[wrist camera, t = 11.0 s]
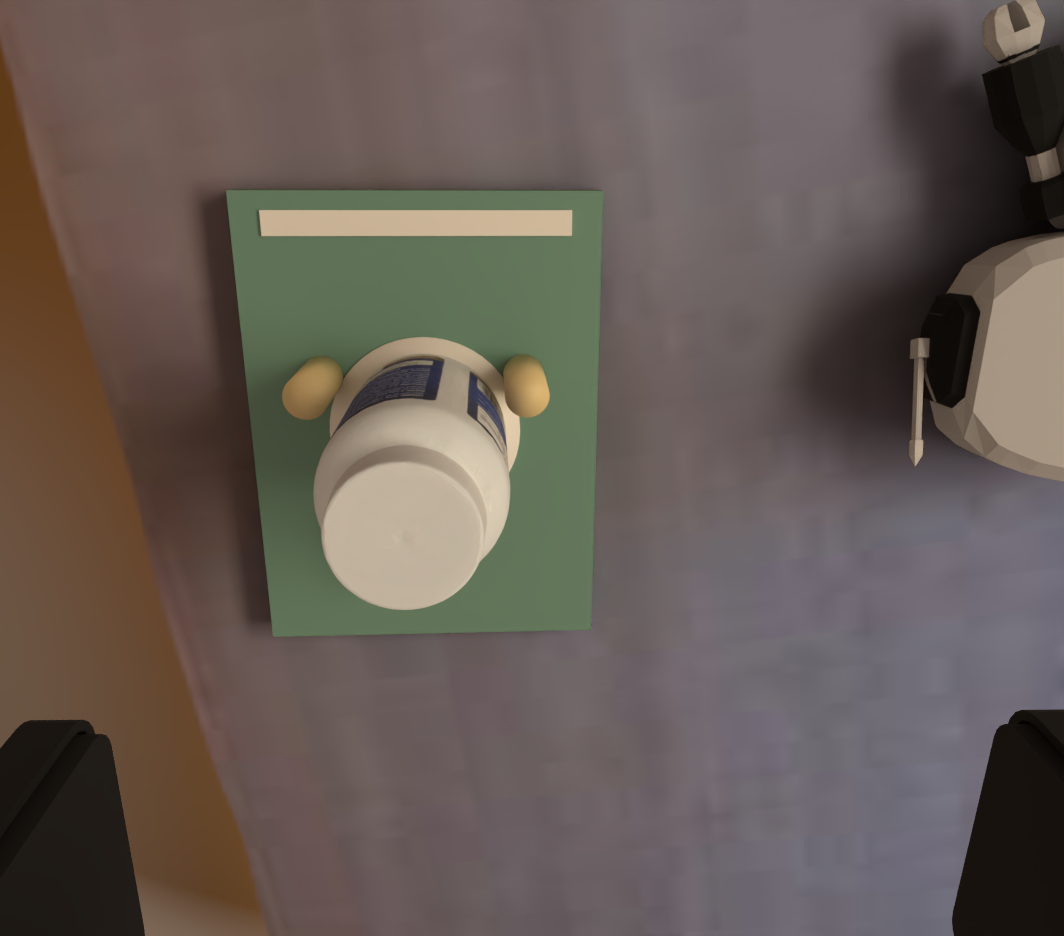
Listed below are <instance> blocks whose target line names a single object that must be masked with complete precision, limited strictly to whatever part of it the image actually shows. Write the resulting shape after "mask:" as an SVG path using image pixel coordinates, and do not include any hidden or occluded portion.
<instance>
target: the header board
mask: <svg viewBox="0 0 1064 936" xmlns="http://www.w3.org/2000/svg"><path fill="white" fill-rule="evenodd" d="M226 196H227V205H228V215H229V224H230V233H231V243H232V252H233V262H234V271H235V281H236V290H237V300H238V309H239V318H240V328H241V337H242V347H243V356H244V366H245V375H246V385H247V394H248V403H249V413H250V422H251V432H252V441H253V451H254V460H255V470H256V479H257V489H258V498H259V507H260V517H261V526H262V536H263V545H264V555H265V564H266V574H267V583H268V592H269V602H270V611H271V621H272V630H273V637H282V636H328V635H373V634H419V633H464V632H510V631H555V630H591V612H592V576H593V540H594V504H595V468H596V432H597V396H598V360H599V324H600V288H601V252H602V216H603V191H601V190H226ZM413 354H434V355H440V356H444V357H448V358H451V359H454V360H456V361H459V362H461V363H463V364H465V365H467V366H468V367H470V368H472V369H473V370H475V371H476V372H477V373H478V374H479V375H480V376H481V377H482V378H483V379H484V380H485V381H486V382H487V383H488V385H489V386H490V387H491V389H492V391H493V392H494V394H495V396H496V398H497V400H498V402H499V404H500V407H501V410H502V413H503V417H504V423H505V428H506V444H507V456H508V467H509V478H510V502H509V510H508V515H507V519H506V522H505V525H504V528H503V530H502V532H501V535H500V536H499V538H498V540H497V542H496V544H495V545H494V546H493V548H492V549H491V550H490V552H489V553H488V554H487V555H486V556H485V557H484V558H483V559H482V560H481V561H480V562H479V564H478V566H477V568H476V570H475V572H474V574H473V575H472V577H471V578H470V579H469V581H468V582H467V583H466V584H465V585H464V586H463V587H462V588H461V589H460V590H459V591H457V592H456V593H455V594H454V595H452V596H451V597H449V598H448V599H446V600H444V601H442V602H440V603H437V604H435V605H432V606H429V607H425V608H421V609H414V610H394V609H387V608H383V607H379V606H376V605H374V604H371V603H368V602H366V601H364V600H362V599H360V598H359V597H357V596H356V595H354V594H353V593H352V592H350V591H349V590H348V589H347V588H345V587H344V586H343V585H342V584H341V583H340V582H339V580H338V579H337V578H336V577H335V575H334V574H333V572H332V571H331V569H330V567H329V565H328V563H327V560H326V558H325V555H324V551H323V547H322V540H321V528H320V525H319V523H318V520H317V516H316V512H315V507H314V496H313V491H314V479H315V475H316V470H317V467H318V464H319V461H320V458H321V456H322V453H323V451H324V449H325V448H326V446H327V444H328V442H329V441H330V439H331V437H332V435H333V433H334V432H335V430H336V428H337V427H338V425H339V423H340V421H341V420H342V418H343V416H344V414H345V413H346V411H347V409H348V407H349V406H350V404H351V402H352V400H353V398H354V396H355V395H356V393H357V392H358V390H359V389H360V387H361V386H362V385H363V383H364V382H365V381H366V380H367V379H368V378H369V377H370V376H371V375H372V374H373V373H374V372H375V371H376V370H378V369H379V368H380V367H382V366H383V365H385V364H387V363H388V362H390V361H393V360H395V359H397V358H400V357H403V356H408V355H413Z"/></svg>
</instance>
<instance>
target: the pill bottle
mask: <svg viewBox="0 0 1064 936" xmlns="http://www.w3.org/2000/svg"><path fill="white" fill-rule="evenodd" d="M313 496H314V507H315V512H316V516H317V520H318V523H319V525H320V528H321V540H322V547H323V551H324V555H325V558H326V560H327V563H328V565H329V567H330V569H331V571H332V572H333V574H334V575H335V577H336V578H337V579H338V580H339V582H340V583H341V584H342V585H343V586H344V587H345V588H347V589H348V590H349V591H350V592H352V593H353V594H354V595H356V596H357V597H359V598H360V599H362V600H364V601H366V602H368V603H371V604H374V605H376V606H379V607H383V608H387V609H394V610H414V609H421V608H425V607H429V606H432V605H435V604H437V603H440V602H442V601H444V600H446V599H448V598H449V597H451V596H452V595H454V594H455V593H456V592H457V591H459V590H460V589H461V588H462V587H463V586H464V585H465V584H466V583H467V582H468V581H469V579H470V578H471V577H472V575H473V574H474V572H475V570H476V568H477V566H478V564H479V562H480V561H481V560H482V559H483V558H484V557H485V556H486V555H487V554H488V553H489V552H490V550H491V549H492V548H493V546H494V545H495V544H496V542H497V540H498V538H499V536H500V535H501V532H502V530H503V528H504V525H505V522H506V519H507V515H508V510H509V502H510V478H509V467H508V456H507V444H506V428H505V423H504V417H503V413H502V410H501V407H500V404H499V402H498V400H497V398H496V396H495V394H494V392H493V391H492V389H491V387H490V386H489V385H488V383H487V382H486V381H485V380H484V379H483V378H482V377H481V376H480V375H479V374H478V373H477V372H476V371H475V370H473V369H472V368H470V367H468V366H467V365H465V364H463V363H461V362H459V361H456V360H454V359H451V358H448V357H444V356H440V355H434V354H413V355H408V356H403V357H400V358H397V359H395V360H393V361H390V362H388V363H387V364H385V365H383V366H382V367H380V368H379V369H378V370H376V371H375V372H374V373H373V374H372V375H371V376H370V377H369V378H368V379H367V380H366V381H365V382H364V383H363V385H362V386H361V387H360V389H359V390H358V392H357V393H356V395H355V396H354V398H353V400H352V402H351V404H350V406H349V407H348V409H347V411H346V413H345V414H344V416H343V418H342V420H341V421H340V423H339V425H338V427H337V428H336V430H335V432H334V433H333V435H332V437H331V439H330V441H329V442H328V444H327V446H326V448H325V449H324V451H323V453H322V456H321V458H320V461H319V464H318V467H317V470H316V475H315V479H314V491H313Z"/></svg>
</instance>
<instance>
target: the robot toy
mask: <svg viewBox="0 0 1064 936" xmlns="http://www.w3.org/2000/svg"><path fill="white" fill-rule="evenodd" d="M1007 5H1008V9H1009V13H1010V16H1009V13H1008V9H1007ZM1044 23H1045V19H1044V17H1043V15H1042V13H1041V11H1040V9H1039V7H1038V5H1037V3H1036V1H1035V0H1015V1H1013V2H1011V3H1009V4H1006V5H1003V6H1001V7H998V8H996V9H994V10H991V11H990V12H989V14H988V15H987V17H986V18H985V20H984V21H983V46H984V47H985V49H986V50H987V51H988V52H989V53H990V54H991V55H992V56H993V58H994V59H995V60H996V61H997V62H998V63H999V64H1001V65H1003V66H1001V67H998V68H996V69H993V70H991V71H989V72H986V73H984V74H982V76H983V81H984V85H985V89H986V93H987V98H988V102H989V106H990V110H991V114H992V119H993V123H994V127H995V128H996V129H997V130H998V131H999V132H1000V133H1001V134H1002V135H1003V136H1004V137H1005V138H1006V139H1007V140H1008V142H1009V143H1010V144H1011V145H1012V146H1014V147H1015V148H1016V149H1017V150H1018V151H1020V152H1021V153H1022V154H1023V155H1024V156H1025V157H1026V161H1027V165H1028V169H1029V174H1030V178H1031V181H1030V182H1028V183H1026V184H1025V185H1024V186H1023V187H1022V188H1021V189H1020V190H1019V193H1020V197H1021V202H1022V206H1023V210H1024V215H1025V219H1026V221H1030V222H1036V221H1044V220H1049V222H1050V223H1051V224H1052V225H1053V226H1054V227H1055V228H1056V229H1064V64H1063V59H1062V55H1061V50H1060V45H1057V46H1054V47H1051V48H1048V49H1045V50H1042V51H1039V52H1037V50H1038V48H1039V45H1040V40H1041V36H1042V31H1043V27H1044ZM910 359H914V382H913V409H912V435H911V440H909V456H910V458H911V460H912V462H913V463H914V465H915V466H916V465H917V463H918V462H919V460H920V458H921V457H922V455H923V440H921V433H922V406H923V398H925V399H928V400H930V404H931V408H932V412H933V416H934V421H935V425H936V427H937V428H938V429H939V430H940V431H941V432H943V433H944V434H945V435H946V436H947V437H948V438H949V439H950V440H952V441H953V442H954V443H955V444H956V445H958V446H960V447H962V448H964V449H966V450H968V451H970V452H972V453H974V454H976V455H979V456H981V457H983V458H986V459H988V460H990V461H992V462H995V463H997V464H999V465H1002V466H1005V467H1008V468H1010V469H1013V470H1016V471H1019V472H1022V473H1025V474H1028V475H1033V476H1038V477H1043V478H1048V479H1052V480H1057V481H1062V482H1064V232H1054V233H1045V234H1038V235H1033V236H1029V237H1025V238H1021V239H1016V240H1012V241H1008V242H1006V243H1003V244H1000V245H997V246H995V247H992V248H990V249H989V250H987V251H986V252H984V253H982V254H981V255H979V256H978V257H976V258H974V259H973V260H971V261H970V262H968V263H966V264H965V265H964V266H963V268H962V269H961V271H960V273H959V274H958V276H957V277H956V279H955V280H954V282H953V284H952V285H951V287H950V288H949V290H948V291H947V293H946V294H944V295H940V296H937V297H936V299H935V301H934V304H933V306H932V308H931V310H930V312H929V314H928V316H927V318H926V320H925V322H924V323H923V325H922V329H921V335H920V338H916V339H913V340H911V344H910Z"/></svg>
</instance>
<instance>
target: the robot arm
mask: <svg viewBox="0 0 1064 936" xmlns="http://www.w3.org/2000/svg"><path fill="white" fill-rule="evenodd" d="M952 925H953V932H954V936H1064V710H1021V711H1018V712H1015V713H1014V714H1013V716H1012V717H1011V718H1010V720H1009V723H1008V724H1004V725H1001V726H1000V727H999V728H998V729H997V730H996V733H995V735H994V739H993V743H992V748H991V752H990V756H989V760H988V765H987V769H986V773H985V778H984V782H983V786H982V790H981V795H980V799H979V803H978V807H977V812H976V816H975V820H974V824H973V829H972V833H971V837H970V842H969V846H968V850H967V854H966V859H965V863H964V867H963V871H962V876H961V880H960V884H959V889H958V893H957V897H956V901H955V906H954V910H953V916H952ZM0 936H145V933H144V925H143V919H142V914H141V908H140V903H139V897H138V892H137V886H136V881H135V875H134V869H133V863H132V858H131V853H130V847H129V841H128V835H127V831H126V825H125V819H124V814H123V808H122V802H121V796H120V791H119V785H118V780H117V774H116V769H115V763H114V757H113V752H112V746H111V743H110V740H109V738H108V737H107V736H106V735H103V734H95V733H94V729H93V727H92V726H91V724H90V723H89V722H88V721H85V720H30V721H27V722H24V723H23V724H22V725H20V726H19V727H18V728H17V729H16V730H15V732H14V733H13V734H12V735H11V737H9V739H8V740H7V741H6V742H5V744H4V745H3V746H2V747H1V748H0Z"/></svg>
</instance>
